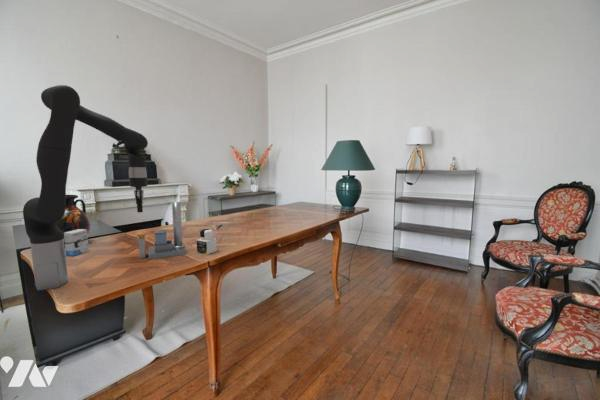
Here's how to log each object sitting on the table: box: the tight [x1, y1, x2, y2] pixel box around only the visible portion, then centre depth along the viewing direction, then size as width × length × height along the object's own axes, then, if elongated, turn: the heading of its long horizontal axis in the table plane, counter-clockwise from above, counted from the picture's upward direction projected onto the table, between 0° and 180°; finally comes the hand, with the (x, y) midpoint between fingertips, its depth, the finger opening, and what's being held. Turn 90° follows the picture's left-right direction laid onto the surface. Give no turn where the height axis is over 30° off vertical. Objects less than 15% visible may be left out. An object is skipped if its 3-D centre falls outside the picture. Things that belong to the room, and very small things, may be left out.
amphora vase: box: [56, 194, 91, 246], centre depth 154 cm, size 22×22×28 cm
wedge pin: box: [137, 232, 147, 255], centre depth 137 cm, size 4×4×11 cm
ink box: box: [64, 229, 90, 257], centre depth 141 cm, size 8×5×12 cm, turn 168°
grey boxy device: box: [196, 228, 218, 256], centre depth 144 cm, size 7×7×12 cm
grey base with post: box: [138, 201, 187, 260], centre depth 141 cm, size 14×21×26 cm
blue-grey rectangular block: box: [154, 229, 168, 245], centre depth 141 cm, size 5×5×9 cm
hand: (140, 212), depth 135 cm, fingers closed
